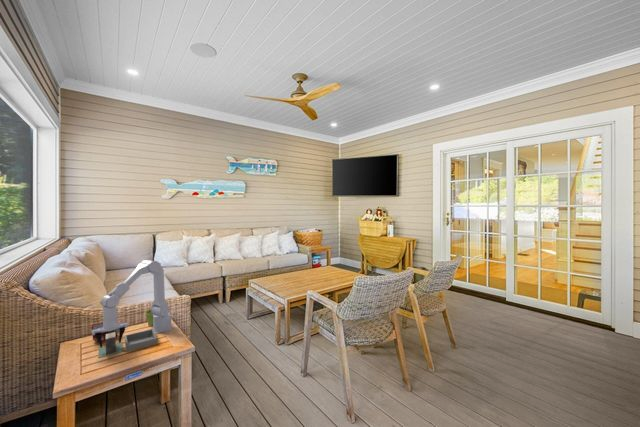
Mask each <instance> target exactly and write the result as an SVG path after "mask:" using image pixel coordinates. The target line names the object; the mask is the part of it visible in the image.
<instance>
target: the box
mask: <svg viewBox="0 0 640 427" xmlns="http://www.w3.org/2000/svg"><path fill="white" fill-rule="evenodd" d="M116 338H117V337H115V332H114V333H109V334H106V340H105V346H106V355H107V354H111V353H114V352H116V344H117V340H116Z"/></svg>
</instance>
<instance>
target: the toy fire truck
mask: <svg viewBox="0 0 640 427" xmlns="http://www.w3.org/2000/svg"><path fill="white" fill-rule="evenodd" d="M90 327H91V331H92V330H95V329H98V328H102V327H103V321H102V322H97V323H93V324H92V325H91V326H90ZM114 332H115V337H116V338H117V337H118V335H119V329H116V330H112V331H107V332H102V333H101V335H102V343H104V342H106V334H109V333H114ZM92 341H96V343H98V344H99V342H98V340H97V339H96V337H95V335H92Z"/></svg>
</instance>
